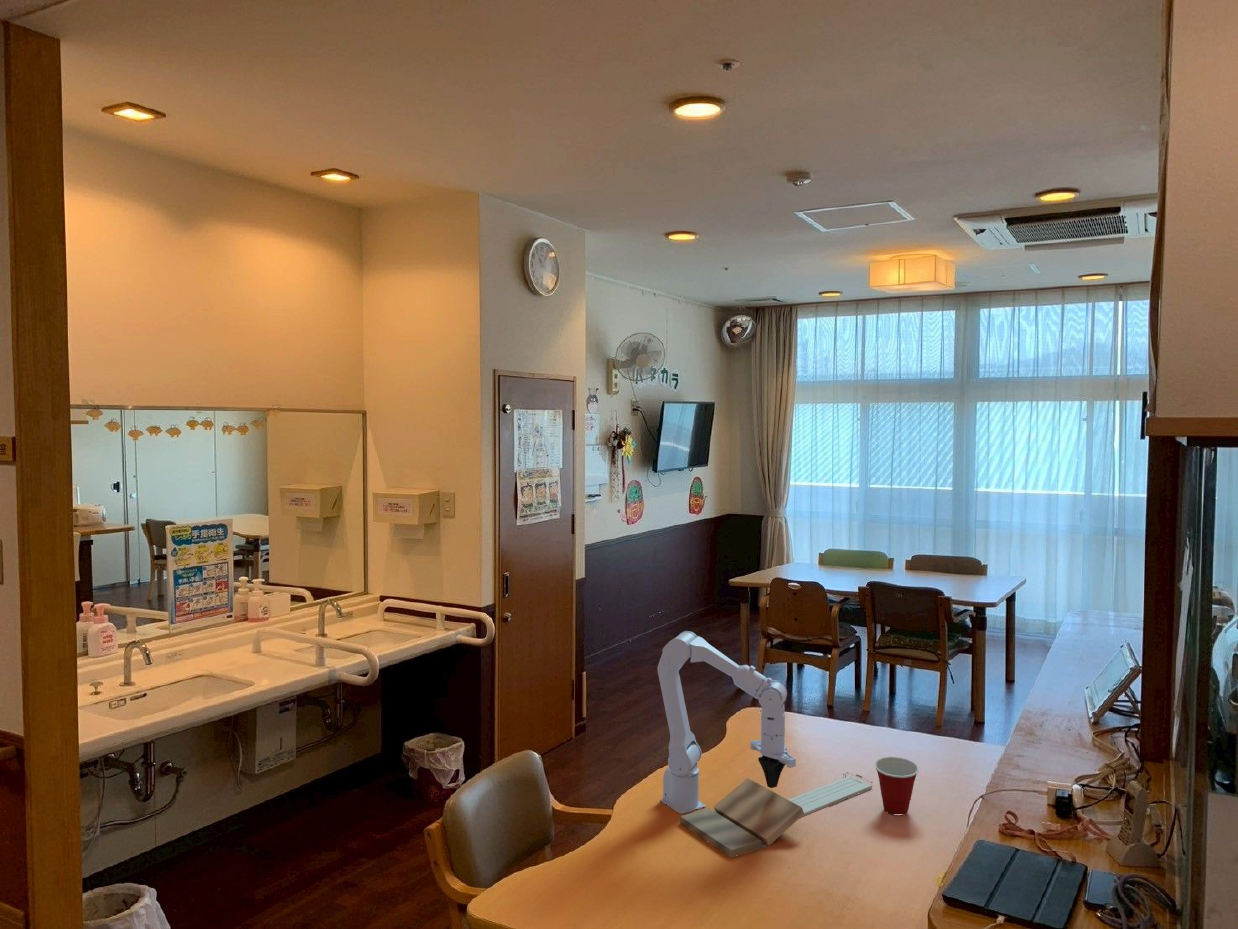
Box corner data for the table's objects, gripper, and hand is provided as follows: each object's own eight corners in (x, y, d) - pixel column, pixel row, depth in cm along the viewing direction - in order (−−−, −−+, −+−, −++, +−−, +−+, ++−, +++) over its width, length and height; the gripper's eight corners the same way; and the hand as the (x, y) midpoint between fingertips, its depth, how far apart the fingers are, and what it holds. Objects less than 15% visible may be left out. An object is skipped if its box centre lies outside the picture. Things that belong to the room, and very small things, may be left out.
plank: (716, 813, 226) (713, 806, 225) (750, 784, 231) (747, 778, 231) (768, 846, 209) (766, 839, 208) (804, 814, 214) (801, 807, 214)
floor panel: (680, 824, 220) (680, 816, 220) (714, 814, 226) (714, 806, 226) (731, 858, 203) (731, 850, 203) (766, 847, 209) (766, 839, 209)
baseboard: (767, 807, 231) (797, 822, 223) (767, 797, 231) (797, 810, 223) (842, 778, 250) (872, 790, 242) (842, 768, 249) (872, 780, 242)
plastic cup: (870, 816, 225) (871, 769, 224) (875, 799, 235) (876, 754, 234) (916, 824, 221) (917, 776, 220) (919, 806, 231) (920, 760, 230)
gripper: (805, 738, 217) (804, 793, 218) (765, 720, 229) (765, 773, 230) (783, 743, 213) (782, 800, 214) (744, 725, 226) (743, 778, 227)
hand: (772, 786), depth 222 cm, fingers closed
